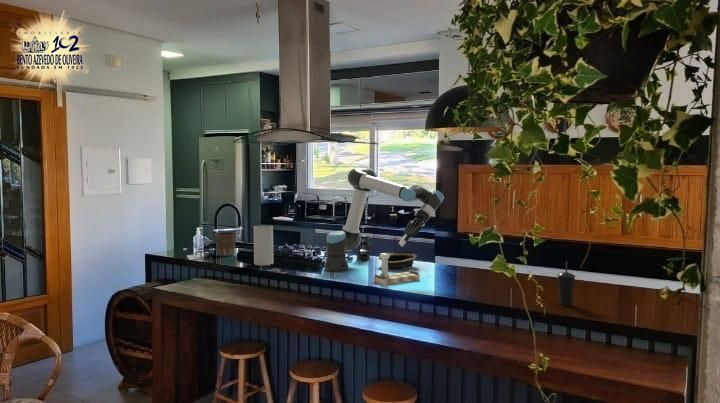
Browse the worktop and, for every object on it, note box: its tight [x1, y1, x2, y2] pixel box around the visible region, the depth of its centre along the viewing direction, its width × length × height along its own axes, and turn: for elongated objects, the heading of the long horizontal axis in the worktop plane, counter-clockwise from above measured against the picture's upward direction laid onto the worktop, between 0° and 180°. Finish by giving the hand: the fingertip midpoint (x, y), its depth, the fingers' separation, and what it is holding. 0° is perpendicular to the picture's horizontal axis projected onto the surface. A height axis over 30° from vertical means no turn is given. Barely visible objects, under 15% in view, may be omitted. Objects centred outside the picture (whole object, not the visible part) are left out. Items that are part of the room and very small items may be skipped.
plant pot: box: [213, 231, 238, 257], centre depth 372 cm, size 16×16×16 cm
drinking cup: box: [556, 260, 576, 307], centre depth 230 cm, size 8×8×20 cm
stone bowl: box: [377, 250, 418, 270], centre depth 322 cm, size 25×25×9 cm
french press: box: [356, 226, 371, 262], centre depth 348 cm, size 12×9×23 cm
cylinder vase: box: [252, 225, 274, 267], centre depth 335 cm, size 12×12×25 cm
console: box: [373, 269, 421, 286], centre depth 282 cm, size 24×10×4 cm, turn 121°
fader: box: [379, 252, 391, 278], centre depth 277 cm, size 3×5×13 cm, turn 32°
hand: (400, 244), depth 282 cm, fingers closed
